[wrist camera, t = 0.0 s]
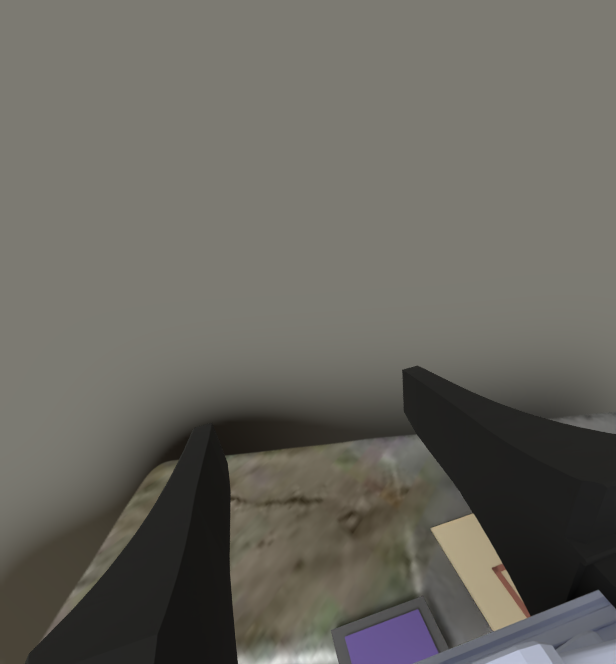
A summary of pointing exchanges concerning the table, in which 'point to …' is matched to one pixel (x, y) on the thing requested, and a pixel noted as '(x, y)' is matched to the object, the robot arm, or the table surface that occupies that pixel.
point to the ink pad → (390, 636)
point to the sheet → (481, 571)
